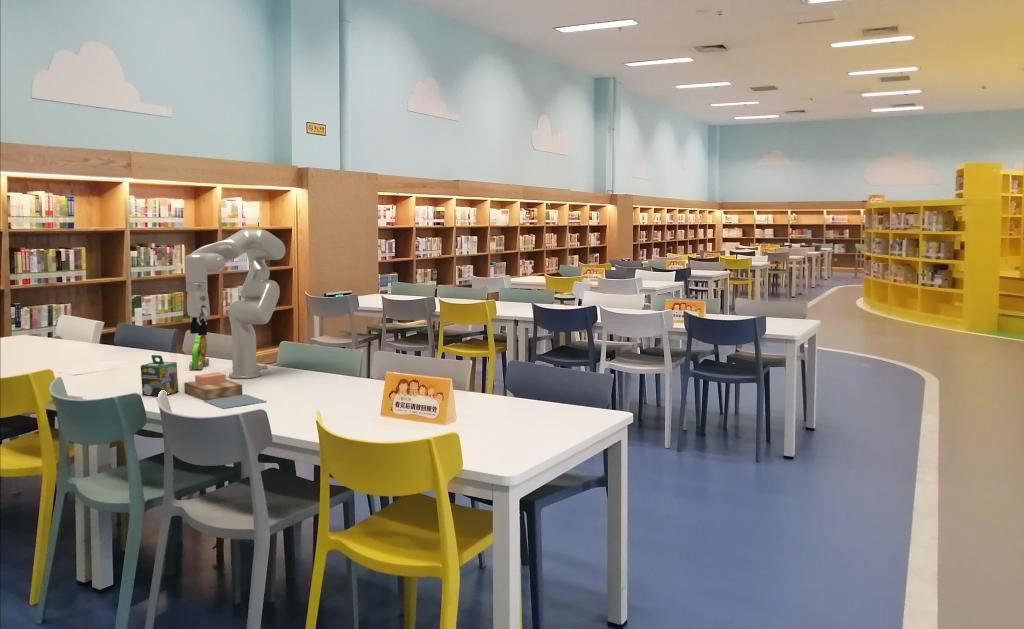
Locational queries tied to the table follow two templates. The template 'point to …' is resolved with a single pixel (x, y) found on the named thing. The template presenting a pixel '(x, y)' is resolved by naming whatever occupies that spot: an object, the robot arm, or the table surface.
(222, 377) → the salmon pink block
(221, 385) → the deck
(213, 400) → the mat
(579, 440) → the table surface
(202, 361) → the toy lion
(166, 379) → the green printed box
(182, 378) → the table surface
